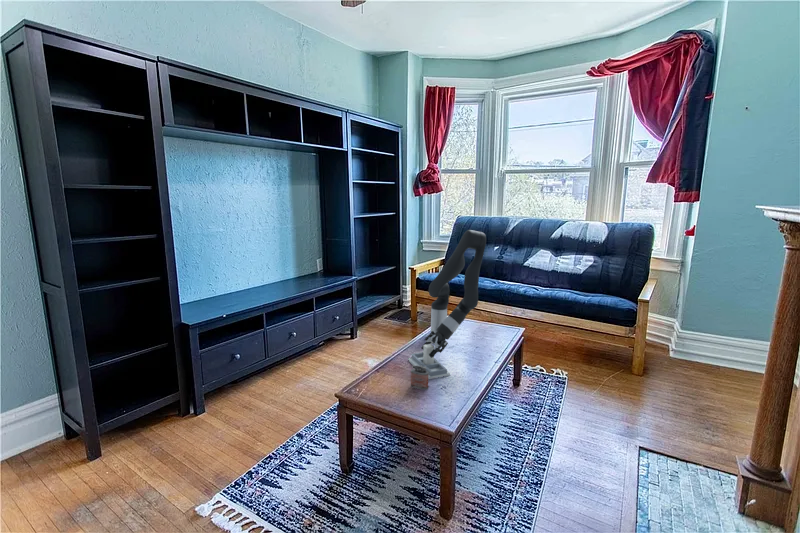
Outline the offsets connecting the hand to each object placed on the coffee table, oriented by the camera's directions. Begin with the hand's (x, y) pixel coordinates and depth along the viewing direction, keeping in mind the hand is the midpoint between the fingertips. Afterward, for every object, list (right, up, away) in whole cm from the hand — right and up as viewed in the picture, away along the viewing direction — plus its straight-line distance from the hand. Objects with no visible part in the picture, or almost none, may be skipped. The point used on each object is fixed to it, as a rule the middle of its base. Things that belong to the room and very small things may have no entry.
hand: (426, 353), depth 187 cm
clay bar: (+1, -6, +2) cm, 7 cm away
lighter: (-4, -11, -17) cm, 21 cm away
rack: (+1, -7, +2) cm, 8 cm away
